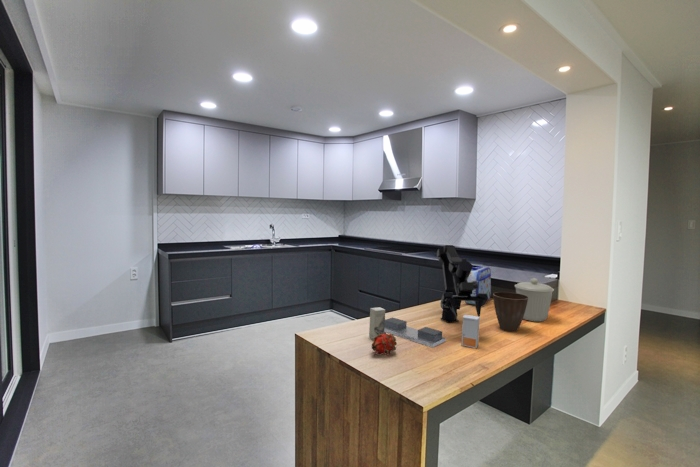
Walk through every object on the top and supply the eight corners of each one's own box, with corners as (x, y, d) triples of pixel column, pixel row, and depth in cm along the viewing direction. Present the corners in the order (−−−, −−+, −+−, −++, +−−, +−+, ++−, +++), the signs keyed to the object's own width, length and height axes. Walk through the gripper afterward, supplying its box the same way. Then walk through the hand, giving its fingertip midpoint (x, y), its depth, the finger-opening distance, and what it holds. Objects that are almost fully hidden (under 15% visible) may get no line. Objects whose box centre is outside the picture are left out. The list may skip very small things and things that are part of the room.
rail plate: (393, 325, 168) (394, 316, 168) (445, 341, 149) (446, 330, 149) (380, 330, 161) (380, 320, 161) (432, 347, 142) (433, 336, 142)
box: (374, 341, 147) (374, 310, 147) (368, 337, 151) (369, 307, 150) (384, 339, 150) (385, 309, 149) (379, 336, 154) (380, 306, 153)
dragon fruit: (397, 354, 139) (374, 366, 131) (383, 336, 143) (361, 347, 136) (405, 341, 134) (383, 353, 126) (391, 323, 138) (368, 334, 131)
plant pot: (484, 326, 170) (486, 293, 169) (505, 322, 177) (506, 290, 176) (512, 336, 157) (514, 300, 156) (533, 331, 164) (535, 297, 163)
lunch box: (479, 308, 201) (481, 269, 200) (461, 305, 207) (463, 267, 206) (492, 299, 224) (493, 264, 222) (475, 296, 230) (476, 262, 228)
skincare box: (461, 345, 145) (462, 316, 144) (463, 342, 148) (464, 314, 148) (476, 348, 142) (478, 319, 141) (478, 345, 145) (479, 316, 145)
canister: (543, 326, 171) (546, 283, 170) (506, 317, 185) (508, 277, 184) (557, 319, 183) (560, 279, 182) (521, 311, 197) (523, 273, 196)
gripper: (443, 273, 153) (449, 305, 143) (487, 274, 152) (496, 307, 142) (439, 287, 161) (443, 319, 151) (480, 289, 161) (488, 320, 150)
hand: (467, 316), depth 148 cm, fingers open, 9 cm apart
